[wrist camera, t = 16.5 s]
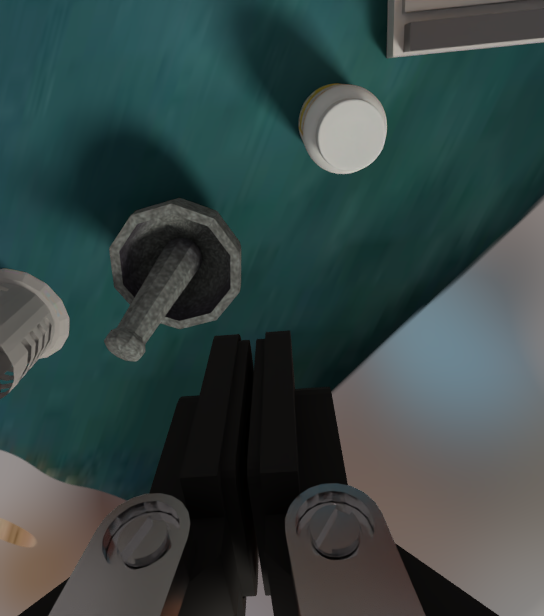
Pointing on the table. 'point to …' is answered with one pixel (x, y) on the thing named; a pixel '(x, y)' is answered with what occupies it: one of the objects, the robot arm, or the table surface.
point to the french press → (28, 324)
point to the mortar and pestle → (171, 271)
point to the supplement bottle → (342, 127)
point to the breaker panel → (461, 25)
